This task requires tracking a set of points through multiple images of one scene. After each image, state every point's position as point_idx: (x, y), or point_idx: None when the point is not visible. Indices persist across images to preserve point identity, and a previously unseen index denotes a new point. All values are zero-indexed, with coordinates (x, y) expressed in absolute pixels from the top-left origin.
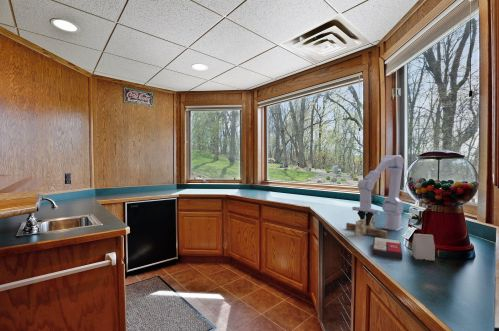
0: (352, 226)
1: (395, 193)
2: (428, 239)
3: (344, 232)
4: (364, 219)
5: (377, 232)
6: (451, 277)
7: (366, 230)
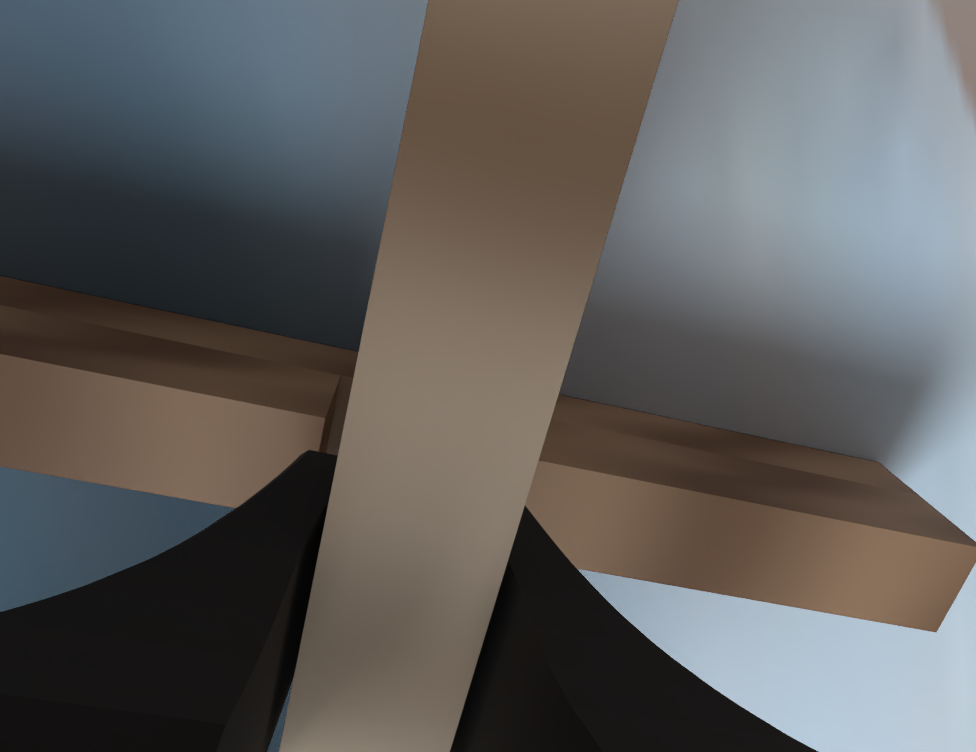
0: (772, 480)
1: None
2: None
3: (897, 130)
4: (404, 595)
5: (19, 326)
6: None
7: None
